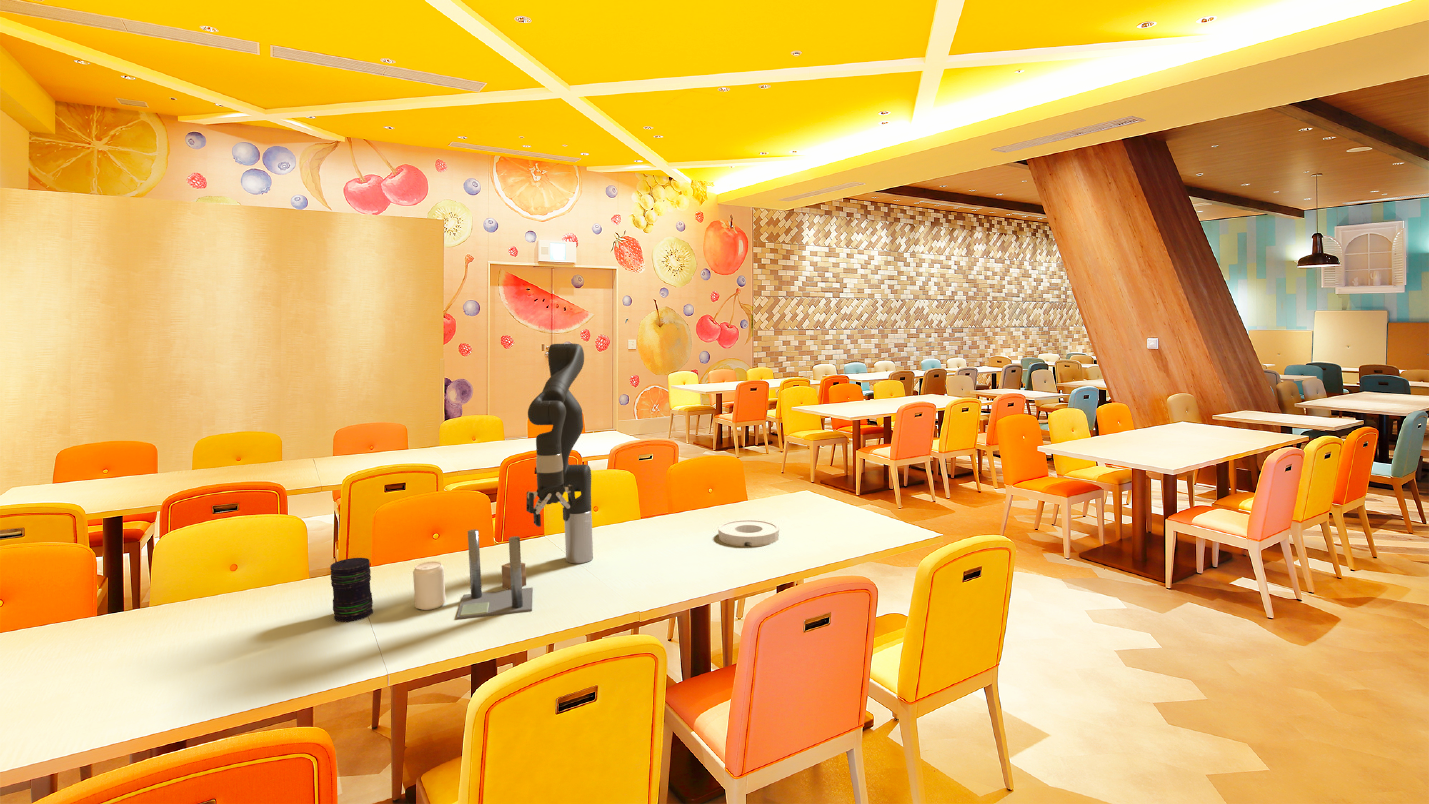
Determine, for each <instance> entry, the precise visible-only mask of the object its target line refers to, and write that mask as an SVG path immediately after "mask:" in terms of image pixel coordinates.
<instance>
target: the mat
mask: <svg viewBox="0 0 1429 804" xmlns="http://www.w3.org/2000/svg"><path fill="white" fill-rule="evenodd" d="M533 590H534V589H533V587H526V588H524V587H522V597H523V607H521V608H516V609H515V608H512V598H511V590H510V589H505V590H495V591H487V592H482V597H481V598H478V599H472V598H471V593H468V594H467V593H466V594H463V595H462V598H461V600H460V604H459V608H458V611H457V615H456V620H462V619H472V618H480V617H490V616H498V615H506V614H507V615H508V614H516V613H523V612H525V613H526V612H532V611H533ZM481 603H485V604H486V603H488V605H487V604H486V605H487V607H488V608H487V612H486V610H485V612H483V611H482V610H483V608H481V607H480V608H481V609H482V610H481V611H482V612H481V611H479V613H474V612H475V610H476V609H477V608H475V606H476V605H477V604H478V606H479V605H481ZM470 604H472V605H473V604H476V605H473V607H474V608H472V609H473V610H474V609H475V610H474V612H473V613H472V612H471V613H470V611H469V610H471V608H470V609H469V608H466V610H468V611H466V610H465V607H463V606H467V607H469V605H470ZM472 605H471V606H472ZM482 605H484V604H482ZM486 605H484V606H486ZM471 606H470V607H471ZM482 607H483V606H482ZM463 608H464V612H462V610H463ZM480 608H479V610H480ZM484 608H485V607H484ZM485 609H486V608H485ZM473 610H471V611H473ZM465 611H466V612H468V614H467V613H465ZM476 611H477V610H476ZM461 612H462V613H461ZM463 613H464V614H463Z"/></svg>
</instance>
